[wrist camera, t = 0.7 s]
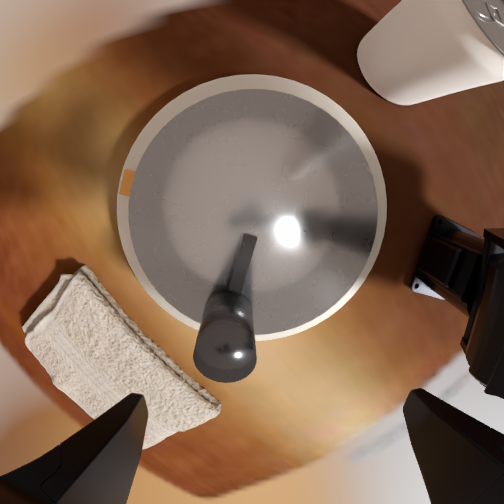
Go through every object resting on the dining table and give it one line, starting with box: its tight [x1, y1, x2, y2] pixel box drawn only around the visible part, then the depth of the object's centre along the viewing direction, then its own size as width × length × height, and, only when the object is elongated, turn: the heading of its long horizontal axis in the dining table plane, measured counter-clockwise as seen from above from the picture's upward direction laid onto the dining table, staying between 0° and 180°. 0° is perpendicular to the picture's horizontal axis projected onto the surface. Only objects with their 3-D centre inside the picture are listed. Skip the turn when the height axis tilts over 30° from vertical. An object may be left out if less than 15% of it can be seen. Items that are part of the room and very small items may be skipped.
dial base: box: [117, 74, 387, 341], centre depth 19 cm, size 18×18×2 cm
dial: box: [128, 89, 378, 383], centre depth 15 cm, size 15×15×6 cm
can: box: [357, 0, 504, 105], centre depth 11 cm, size 6×6×12 cm
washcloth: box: [22, 265, 222, 449], centre depth 22 cm, size 12×18×3 cm, turn 38°
